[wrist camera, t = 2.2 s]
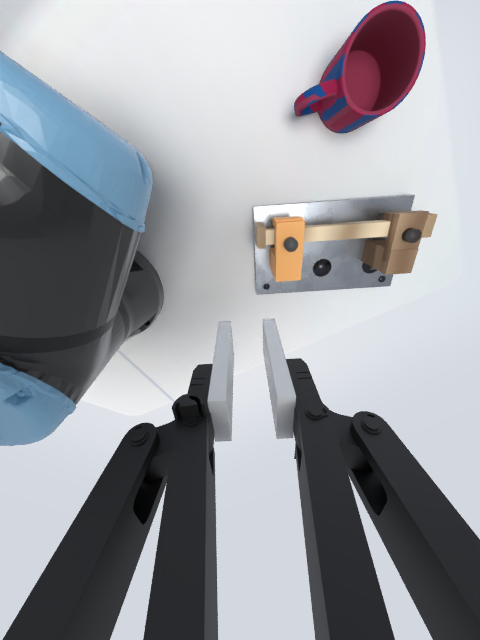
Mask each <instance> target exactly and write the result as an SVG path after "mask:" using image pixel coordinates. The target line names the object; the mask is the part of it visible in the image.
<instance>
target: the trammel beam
mask: <svg viewBox="0 0 480 640" xmlns="http://www.w3.org/2000/svg"><path fill="white" fill-rule="evenodd" d="M437 215H438V214H431V213H429V212H428V211H396V212H384V215H383V220H375V221H361V222H347V223H333V224H319V225H305V228H304V242H315V241H330V240H344V239H358V238H372V237H387V239H381V240H367V241H365V246H364V252H363V257H362V262H364V263H366V264H368V265H369V269H370V270H374V269H376V270H378V271H380V272H382V273H383V274H385V275H387V274H402V273H411V271H412V268H413V265H414V261H415V258H416V255H417V252H418V246H419V243H420V240H421V238H423V237H430V236H431V233H432V230H433V227H434V224H435V221H436V218H437ZM254 226H255V243H256V246H257V249H265V248H266V245H273V244H275V228H266V226H265V225H264V224H263V223H262V222H254Z"/></svg>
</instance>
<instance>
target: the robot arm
mask: <svg viewBox="0 0 480 640" xmlns="http://www.w3.org/2000/svg"><path fill="white" fill-rule="evenodd" d="M152 187H153V177H152V172H151V169H150V166H149V164H148V162H147V161H146V159H145V158H144V156H143V155H142V154H141V153H140V152H139V151H138V150H137V149H136V148H135V147H134V146H132V145H131V144H130V143H128V142H127V141H126V140H124V139H123V138H121V137H120V136H119V135H117V134H116V133H114V132H113V131H112V130H110V129H109V128H108V127H106V126H105V125H103V124H102V123H101V122H99V121H98V120H96V119H95V118H94V117H92V116H91V115H89V114H88V113H87V112H85V111H84V110H82V109H81V108H80V107H78V106H77V105H75V104H74V103H72V102H71V101H70V100H68V99H67V98H65V97H64V96H63V95H61V94H60V93H59V92H57V91H56V90H54V89H53V88H52V87H50V86H49V85H47V84H46V83H45V82H43V81H42V80H40V79H39V78H38V77H36V76H35V75H33V74H32V73H31V72H29V71H28V70H26V69H25V68H24V67H22V66H21V65H19V64H18V63H16V62H15V61H14V60H12V59H11V58H9V57H8V56H7V55H5V54H4V53H2V52H1V51H0V445H1V446H13V445H25V444H30V443H34V442H37V441H39V440H42V439H44V438H46V437H47V436H49V435H50V434H51V433H52V432H54V430H55V429H56V428H57V427H58V426H59V425H60V424H61V422H62V421H63V420H64V419H65V418H66V417H67V416H68V415H69V414H71V413H73V411H74V410H75V408H76V404H77V403H78V402H79V400H80V399H81V398H82V396H83V395H84V394H85V392H86V391H87V390H88V388H89V387H90V386H91V384H92V383H93V382H94V380H95V379H96V378H97V376H98V375H99V374H100V372H101V371H102V370H103V368H104V367H105V366H106V364H107V363H108V362H109V360H110V359H111V358H112V356H113V355H114V354H115V352H116V351H117V350H118V349H119V347H120V346H121V344H122V343H123V342H124V341H126V340H128V339H129V338H131V337H133V336H135V335H137V334H139V333H141V332H143V331H144V330H146V329H147V328H148V327H149V326H150V325H151V324H152V323H153V322H154V320H155V319H156V317H157V316H158V314H159V312H160V310H161V308H162V304H163V289H162V284H161V281H160V279H159V276H158V274H157V273H156V271H155V269H154V268H153V266H152V265H151V264H150V263H149V261H148V260H147V259H146V258H145V257H144V256H142V255H141V254H140V253H139V252H137V251H136V250H137V247H138V244H139V240H140V237H141V234H142V233H144V232H145V229H146V225H145V223H144V221H145V217H146V212H147V208H148V204H149V200H150V196H151V192H152ZM263 353H264V359H265V366H266V372H267V378H268V385H269V392H270V398H271V404H272V411H273V418H274V424H275V430H276V436H277V439H280V438H293V432H294V436H295V441H296V447H295V457H294V459H296V461H297V470H298V480H299V489H300V499H301V507H302V516H303V526H304V536H305V546H306V554H307V565H308V574H309V583H310V592H311V602H312V611H313V620H314V630H315V639H316V640H395V638H394V635H393V631H392V628H391V624H390V621H389V617H388V614H387V610H386V607H385V603H384V599H383V596H382V592H381V589H380V585H379V582H378V578H377V575H376V571H375V568H374V564H373V560H372V557H371V554H370V550H369V547H368V543H367V540H366V536H365V532H364V529H363V525H362V522H361V518H360V515H359V511H358V507H357V504H356V501H355V497H354V493H353V490H352V486H351V483H350V479H351V481H352V482H353V484H354V486H355V488H356V490H357V492H358V494H359V496H360V498H361V500H362V502H363V504H364V506H365V508H366V510H367V511H368V514H369V516H370V518H371V519H372V521H373V523H374V525H375V527H376V529H377V531H378V533H379V535H380V537H381V539H382V541H383V543H384V545H385V547H386V549H387V551H388V553H389V555H390V557H391V559H392V560H393V562H394V564H395V566H396V568H397V570H398V572H399V574H400V576H401V578H402V580H403V582H404V584H405V586H406V588H407V590H408V592H409V593H410V596H411V597H412V599H413V601H414V603H415V605H416V607H417V609H418V611H419V613H420V615H421V617H422V619H423V621H424V623H425V624H426V627H427V629H428V631H429V633H430V635H431V637H432V638H433V640H480V539H479V538H478V537H477V536H476V534H475V533H474V532H473V531H472V529H471V528H470V527H469V525H468V524H467V523H466V522H465V520H464V519H463V518H462V517H461V515H460V514H459V513H458V512H457V510H456V509H455V508H454V507H453V505H452V504H451V503H450V502H449V500H448V499H447V498H446V497H445V495H444V494H443V493H442V492H441V490H440V489H439V488H438V487H437V485H436V484H435V483H434V482H433V480H432V479H431V478H430V476H429V475H428V474H427V473H426V471H425V470H424V469H423V468H422V467H421V465H420V464H419V463H418V461H417V460H416V459H415V458H414V457H413V455H412V454H411V453H410V451H409V450H408V449H407V448H406V446H405V445H404V444H403V442H401V440H400V439H399V438H398V436H397V435H396V434H395V432H394V431H393V430H392V429H391V427H390V426H389V425H388V424H387V422H385V421H384V420H383V419H382V418H381V417H380V416H378V415H376V414H374V413H371V412H367V411H365V412H364V411H363V412H362V411H361V412H358V413H356V414H355V415H354V416H353V417H349V416H344V415H340V414H337V413H334V412H332V411H330V410H329V409H328V408H327V407H326V406H325V405H324V404H323V403H322V401H321V399H320V397H319V394H318V391H317V389H316V386H315V384H314V381H313V379H312V376H311V374H310V371H309V368H308V366H307V364H306V363H305V362H304V361H303V360H302V359H300V358H299V359H285V355H284V352H283V348H282V344H281V341H280V337H279V334H278V330H277V326H276V323H275V319H263ZM233 366H234V351H233V341H232V331H231V321H226V322H219V326H218V333H217V340H216V347H215V353H214V360H213V364H202V365H198V366H197V367H196V368H195V370H194V371H193V374H192V378H191V382H190V386H189V390H188V394H185V395H183V396H181V397H179V398H178V399H177V400H176V401H175V402H174V404H173V406H172V410H173V414H174V417H175V420H174V421H172V422H170V423H168V424H165V425H162V426H159V427H155V426H154V425H153V424H150V423H141V424H139V425H136V426H134V427H133V428H132V429H130V430H129V431H128V433H127V434H126V435H125V436H124V438H123V439H122V441H121V443H120V445H119V446H118V448H117V450H116V451H115V453H114V454H113V456H112V458H111V460H110V461H109V463H108V464H107V466H106V468H105V469H104V471H103V473H102V474H101V476H100V478H99V479H98V481H97V483H96V485H95V486H94V488H93V490H92V491H91V493H90V495H89V496H88V498H87V500H86V501H85V503H84V505H83V506H82V508H81V510H80V511H79V513H78V515H77V516H76V518H75V520H74V521H73V523H72V525H71V526H70V528H69V530H68V531H67V533H66V535H65V536H64V538H63V540H62V541H61V543H60V545H59V546H58V548H57V550H56V551H55V553H54V555H53V556H52V558H51V560H50V562H49V563H48V565H47V566H46V568H45V570H44V572H43V573H42V575H41V576H40V578H39V580H38V581H37V583H36V585H35V586H34V588H33V590H32V591H31V593H30V595H29V596H28V598H27V600H26V602H25V603H24V605H23V606H22V608H21V610H20V611H19V613H18V615H17V617H16V618H15V620H14V621H13V623H12V625H11V627H10V628H9V630H8V631H7V633H6V635H5V637H4V638H3V640H110V638H111V635H112V632H113V629H114V627H115V624H116V621H117V618H118V616H119V613H120V610H121V607H122V604H123V602H124V599H125V596H126V593H127V591H128V588H129V585H130V582H131V580H132V577H133V574H134V571H135V569H136V566H137V563H138V560H139V558H140V555H141V552H142V549H143V546H144V544H145V541H146V538H147V535H148V533H149V530H150V527H151V524H152V522H153V519H154V516H155V513H156V511H157V508H158V505H159V502H160V499H161V497H162V494H163V491H164V488H165V486H166V491H165V498H164V505H163V511H162V518H161V525H160V532H159V538H158V545H157V551H156V558H155V565H154V572H153V579H152V585H151V592H150V599H149V605H148V612H147V619H146V625H145V632H144V639H143V640H218V617H217V616H218V613H217V563H216V562H217V561H216V560H217V558H216V503H215V452H214V448H213V444H214V437H215V441H231V435H232V399H233ZM348 475H349V476H348ZM349 477H350V479H349ZM166 483H167V485H166Z"/></svg>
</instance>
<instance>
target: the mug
mask: <svg viewBox="0 0 480 640" xmlns="http://www.w3.org/2000/svg"><path fill="white" fill-rule="evenodd" d="M425 46H426V43H425V31H424V26H423V23H422V20H421V17H420V16H419V14H418V13H417V11H416V10H415V9H414V8H413V7H412V6H411V5H409V4H407V3H405V2H401V1H389V2H386V3H383V4H380V5H379V6H377V7H375V8H373V9H372V10H371V11H370V12H369V13H367V14H366V15H365V16H364V17H363V19H362V20H361V21H360V22H359V23H358V25H357V26H356V27H355V29H354V30H353V32H352V33H351V34H350V36H349V37H348V39H347V40H346V41H345V43H344V44H343V46H342V47H341V48H340V50H339V51H338V53H337V54H336V55H335V57H334V58H333V60H332V61H331V62H330V64H329V65H328V67H327V68H326V70H325V72H324V74H323V76H322V78H321V81H320V84H318V85H316V86H314V87H312V88H310V89H308V90H307V91H305V92H304V93H303V94H301V95H300V96H299V97H298V98H297V100H296V101H295V103H294V111H295V114H296V115H297V116H303V115H307V114H310V113H314V112H317V111H318V113H319V116H320V118H321V120H322V122H323V124H324V125H325V126H326V127H327V128H328V129H330V130H331V131H333V132H336V133H347V132H351V131H353V130H355V129H357V128H359V127H361V126H363V125H364V124H366V123H368V122H370V121H372V120H374V119H376V118H378V117H380V116H382V115H383V114H385V113H387V112H389V111H391V110H392V109H394V108H395V107H396V106H397V105H398V104H399V103H401V102H402V101H403V99H404V98H405V97H406V96H407V95H408V93H409V92H410V90H411V89H412V87H413V86H414V84H415V82H416V80H417V78H418V76H419V73H420V70H421V67H422V64H423V60H424V55H425Z"/></svg>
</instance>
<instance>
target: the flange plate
mask: <svg viewBox="0 0 480 640" xmlns="http://www.w3.org/2000/svg"><path fill="white" fill-rule="evenodd" d="M414 196H415V195H401V196H387V197H374V198H361V199H347V200H334V201H321V202H307V203H294V204H281V205H267V206H254V207H253V212H254V222H262V223H263V224H264V225H265V226H266V228H275V227H274V226H273V218H276V217H290V216H300V217H302V218H303V220H304V221H305V225H319V224H333V223H347V222H361V221H375V220H383V215H384V212H396V211H411V207H412V203H413V200H414ZM381 239H387V237H372V238H358V239H344V240H330V241H315V242H304V243H303V258H302V269H301V280H295V281H280V282H276V281H275V279H274V276H273V274H272V271H271V269H270V248H274V247H275V244H273V245H266V248H265V249H257V246H256V243H255V270H256V293H257V295H258V294H273V293H289V292H304V291H320V290H336V289H351V288H367V287H382V286H390V284H391V281H392V277H393V274H387V275H385V274H383V273H382V272H380V271H378V270H376V269H374V270H370V269H369V265H368V264H366V263H364V262H362V257H363V252H364V246H365V241H367V240H381ZM254 241H255V226H254Z"/></svg>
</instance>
